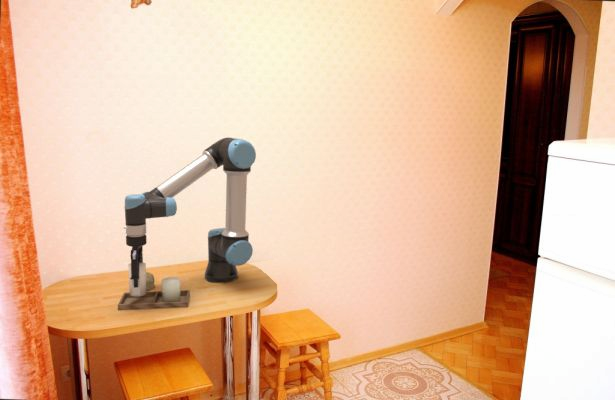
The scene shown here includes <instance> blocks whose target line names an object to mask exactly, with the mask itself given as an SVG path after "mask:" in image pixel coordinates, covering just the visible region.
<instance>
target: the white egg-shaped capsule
mask: <svg viewBox="0 0 615 400" xmlns="http://www.w3.org/2000/svg"><path fill="white" fill-rule="evenodd" d="M180 290H181V279H180V278H179V277H176V276H170V277H169V276H168V277H164V278H163V279H162V280H161V291H162V301H163V303H164V302H180V301H181V297H180Z"/></svg>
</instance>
